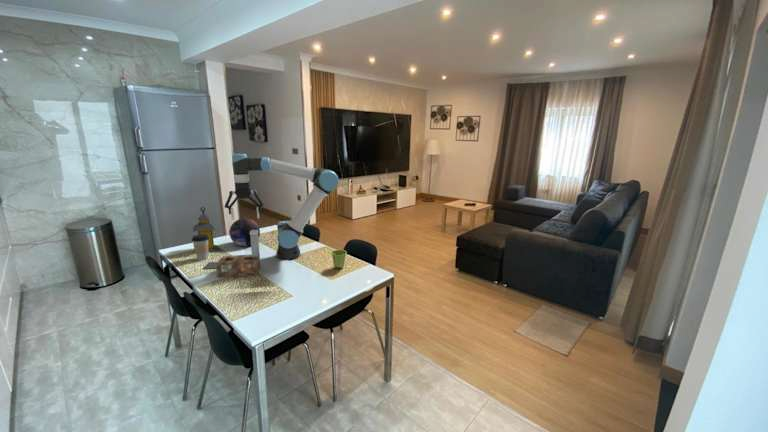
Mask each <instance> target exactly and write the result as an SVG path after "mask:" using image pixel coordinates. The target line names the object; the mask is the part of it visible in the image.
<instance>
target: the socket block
mask: <svg viewBox="0 0 768 432" xmlns="http://www.w3.org/2000/svg"><path fill="white" fill-rule="evenodd" d="M216 262H217V263H216V269H215V270H216V277H217V278H228V277H229V278H231V277H232V278H233V277H246V276H247V277H248V276H257V275H258V273H259V271H260V269H261V267H262V266H261V256H260V257H259V259H252V254H239V255H238V254H236V255H235V254H234V255H222V256H221V258H220V259H218V261H216Z"/></svg>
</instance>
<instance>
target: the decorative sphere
mask: <svg viewBox="0 0 768 432" xmlns="http://www.w3.org/2000/svg"><path fill="white" fill-rule="evenodd" d="M251 230H258V239H259V238H260V235H261V229H260V226H259V225H258V223H256V222H255V221H254V220H253V219H251V218H247V217H245V218H244V217H243V218H238V219H237V220H235V221H234V222H233V223H232V224H231V226H230V227H229V230H228V232H229V234H228V235H229V237H230V239H231V241H232V242H233V243H234V244H235V245H237V246H241V247H249V246H251V238H250V231H251Z"/></svg>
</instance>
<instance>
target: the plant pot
mask: <svg viewBox="0 0 768 432" xmlns="http://www.w3.org/2000/svg"><path fill="white" fill-rule="evenodd" d="M347 253H348V252H347V250H343V249H335V250H332V251H331V252H330V255H331V257H332V262H333V267H335V268H343V267H345V262H346V261H345V260H346V255H347Z"/></svg>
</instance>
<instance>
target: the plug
mask: <svg viewBox="0 0 768 432" xmlns="http://www.w3.org/2000/svg"><path fill="white" fill-rule="evenodd" d="M250 238H251V245H250V249H251V250H250V251H251V255H252V259H259V257H260V258H261V254H260V242H259V238H258V230H251V231H250Z"/></svg>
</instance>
